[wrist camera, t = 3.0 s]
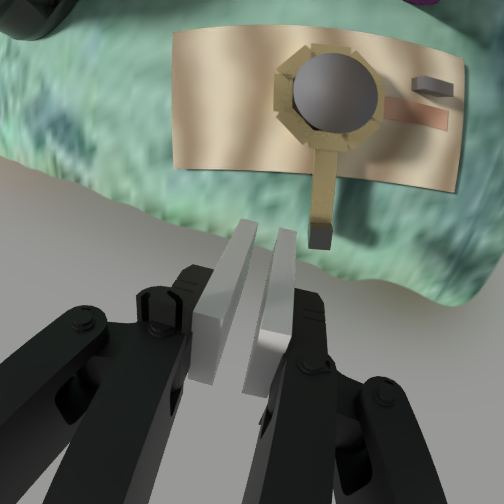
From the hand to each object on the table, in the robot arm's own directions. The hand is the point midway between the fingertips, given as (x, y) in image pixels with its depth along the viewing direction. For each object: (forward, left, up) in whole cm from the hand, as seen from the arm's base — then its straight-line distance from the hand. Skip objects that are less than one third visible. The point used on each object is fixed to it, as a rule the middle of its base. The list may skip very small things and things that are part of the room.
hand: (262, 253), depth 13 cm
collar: (+4, +4, -15) cm, 16 cm away
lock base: (+4, +8, -16) cm, 18 cm away
